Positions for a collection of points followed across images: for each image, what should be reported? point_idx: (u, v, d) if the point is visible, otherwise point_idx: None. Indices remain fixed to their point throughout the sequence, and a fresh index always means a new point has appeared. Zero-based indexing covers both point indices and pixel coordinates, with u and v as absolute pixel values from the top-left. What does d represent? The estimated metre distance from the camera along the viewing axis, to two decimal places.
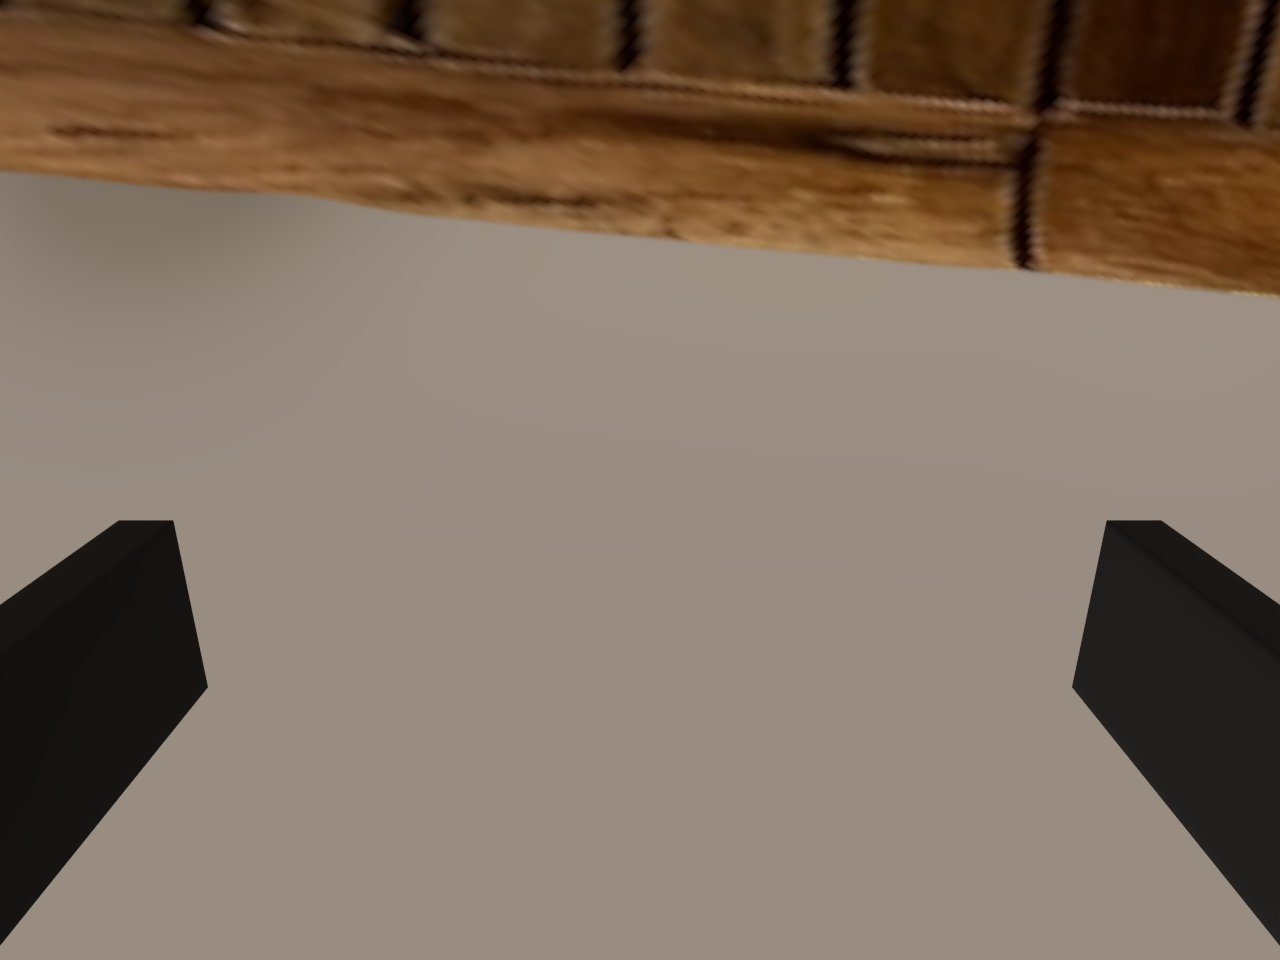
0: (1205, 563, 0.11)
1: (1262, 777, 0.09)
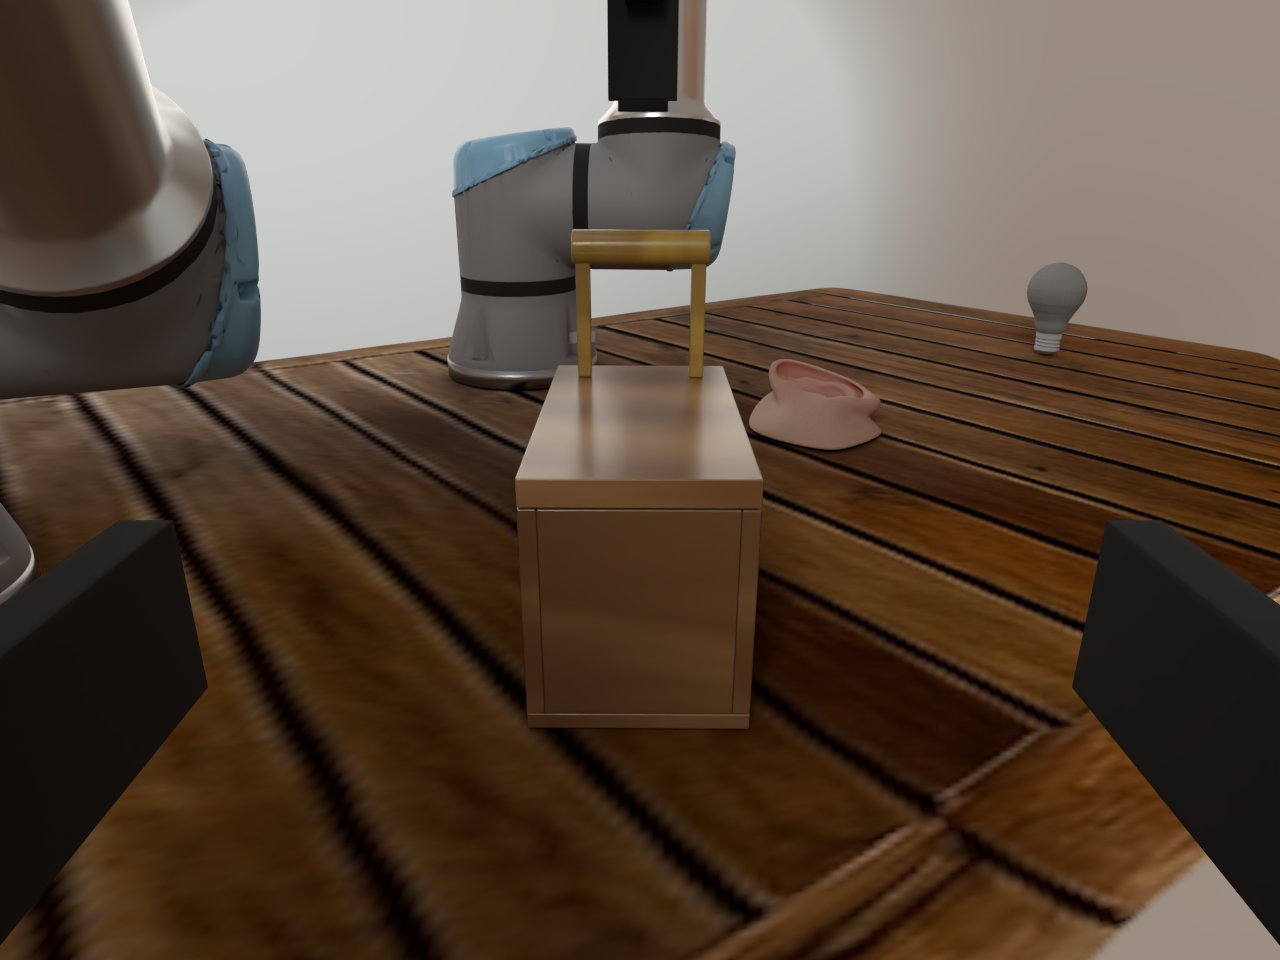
0: (1205, 563, 0.11)
1: (1262, 777, 0.09)
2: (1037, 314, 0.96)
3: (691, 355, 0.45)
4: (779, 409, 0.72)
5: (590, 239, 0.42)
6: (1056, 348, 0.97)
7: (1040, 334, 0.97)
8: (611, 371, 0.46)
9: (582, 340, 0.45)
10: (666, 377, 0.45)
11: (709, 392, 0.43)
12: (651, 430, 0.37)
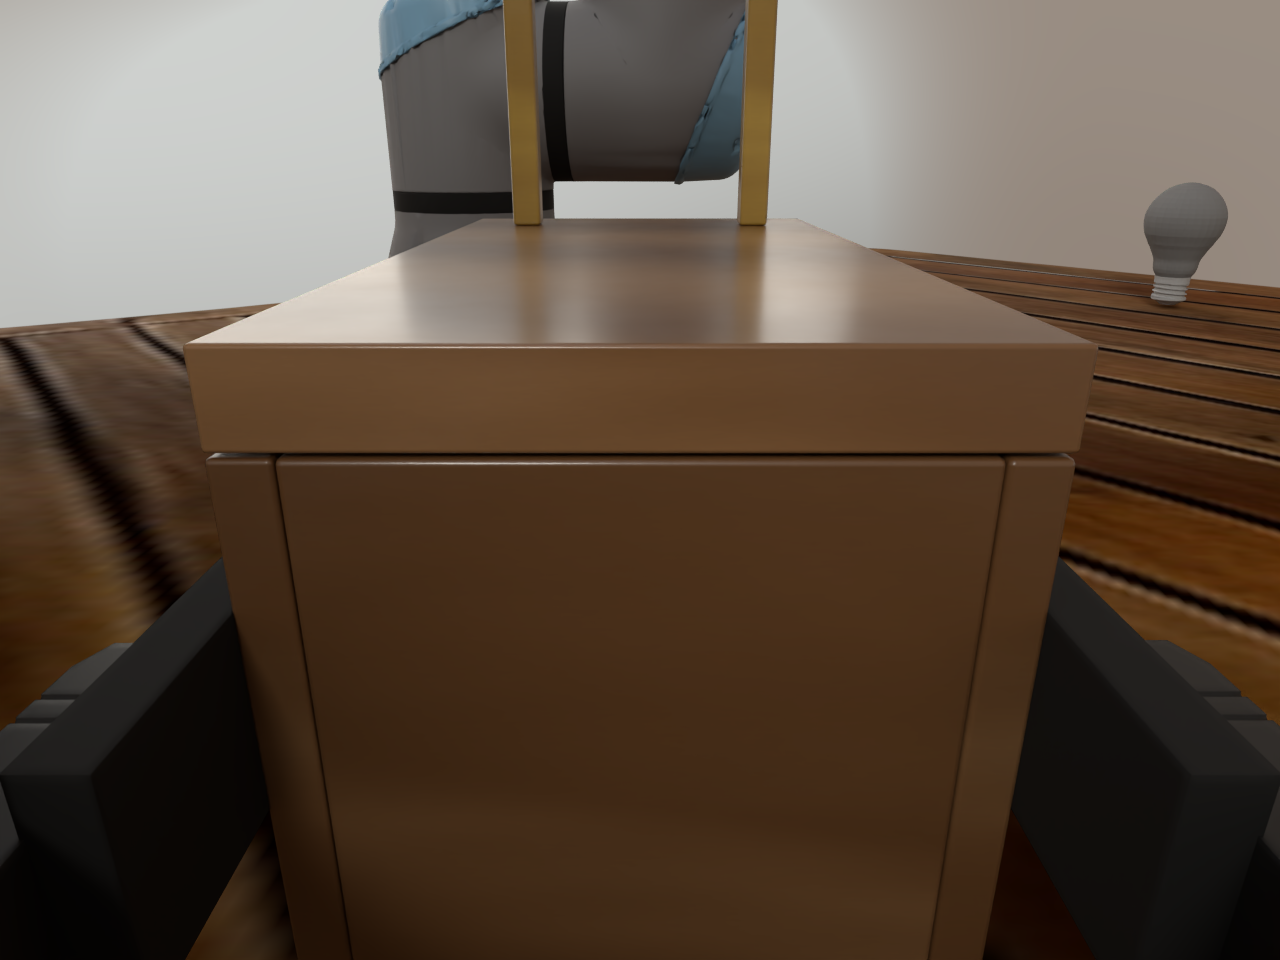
0: None
1: None
2: (1159, 252, 0.73)
3: (744, 177, 0.22)
4: None
5: None
6: (1182, 297, 0.74)
7: (1161, 278, 0.74)
8: (582, 222, 0.23)
9: (520, 144, 0.22)
10: (693, 225, 0.22)
11: (790, 235, 0.20)
12: (671, 269, 0.14)
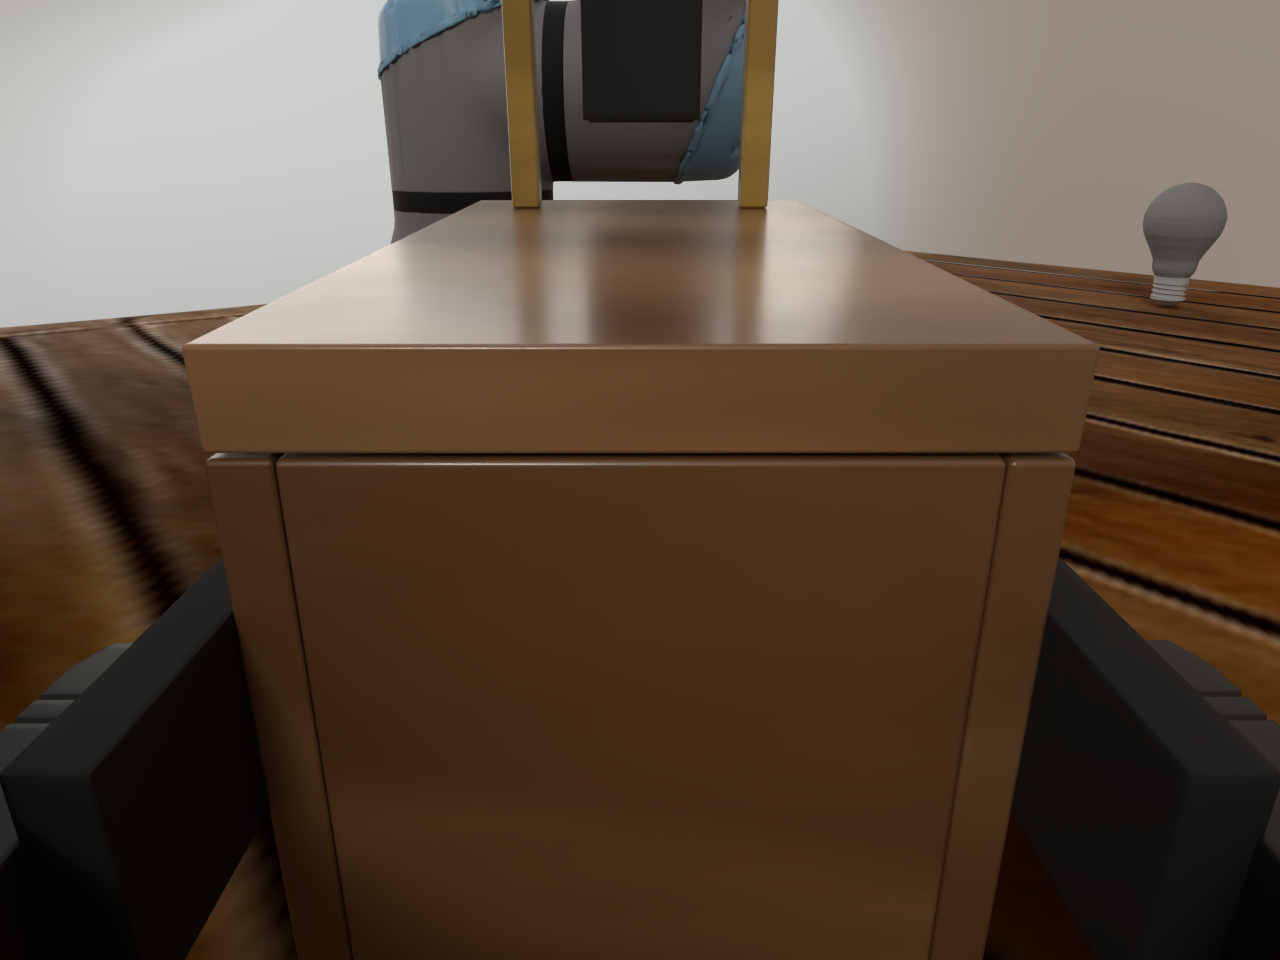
0: None
1: None
2: (1158, 252, 0.73)
3: (745, 159, 0.22)
4: None
5: None
6: (1181, 297, 0.74)
7: (1161, 278, 0.74)
8: (582, 204, 0.23)
9: (517, 125, 0.21)
10: (693, 208, 0.22)
11: (791, 219, 0.20)
12: (671, 259, 0.14)
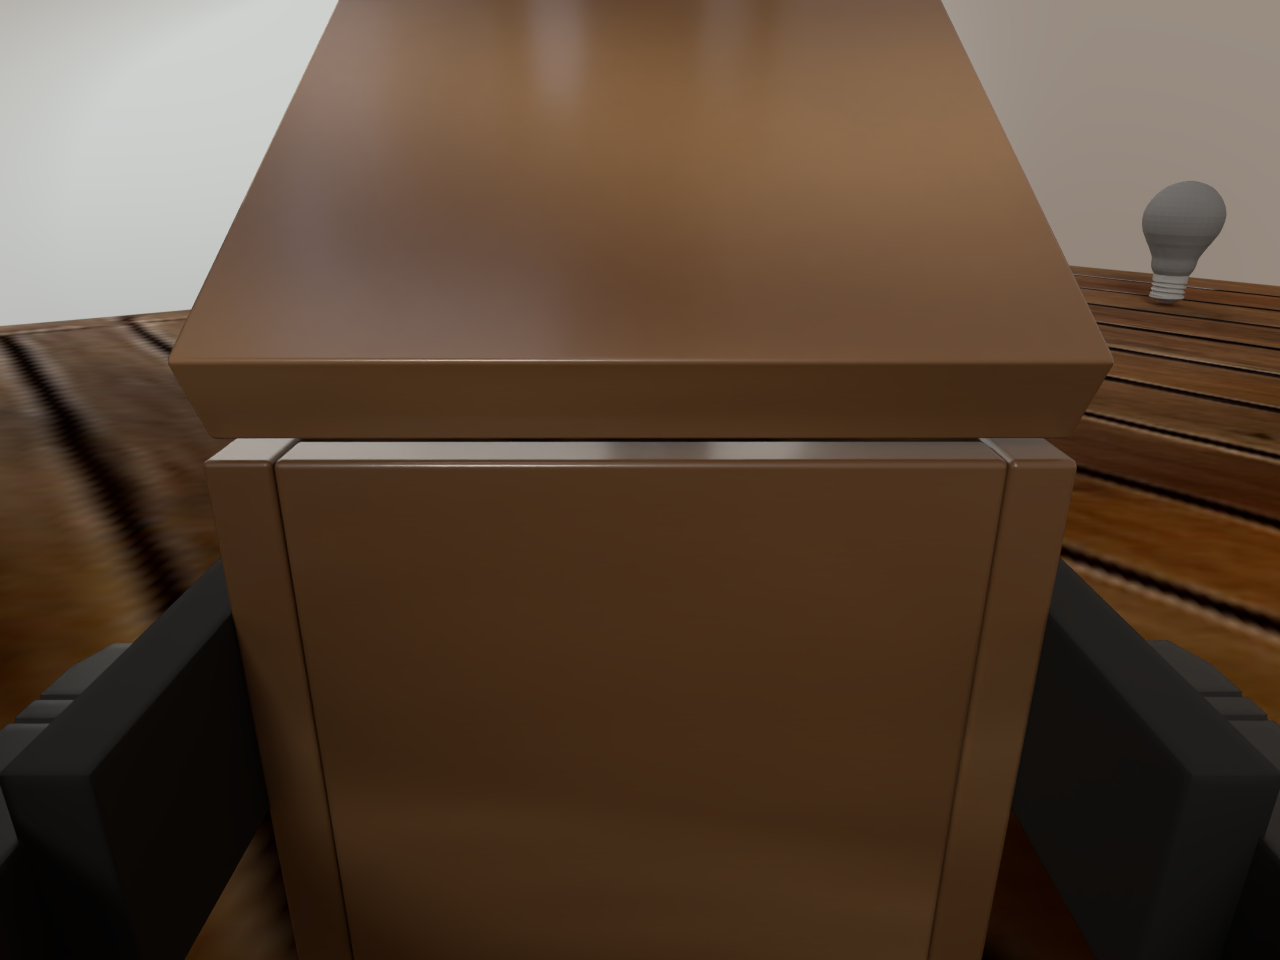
0: None
1: None
2: (1158, 250, 0.74)
3: None
4: None
5: None
6: (1181, 295, 0.75)
7: (1160, 277, 0.74)
8: None
9: None
10: None
11: None
12: (676, 60, 0.12)
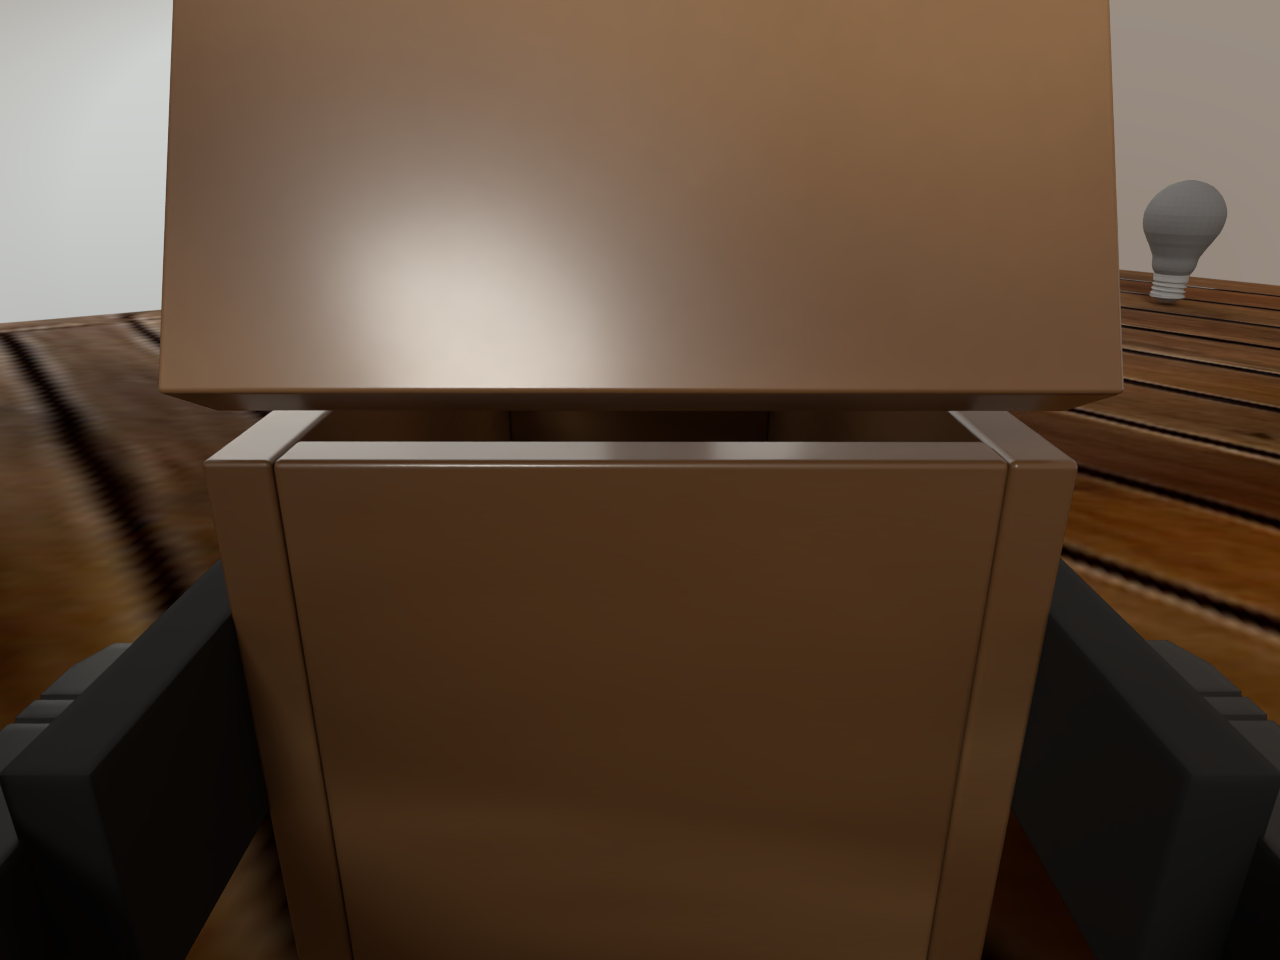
0: None
1: None
2: (1158, 250, 0.73)
3: None
4: None
5: None
6: (1181, 294, 0.75)
7: (1160, 276, 0.74)
8: None
9: None
10: None
11: None
12: None
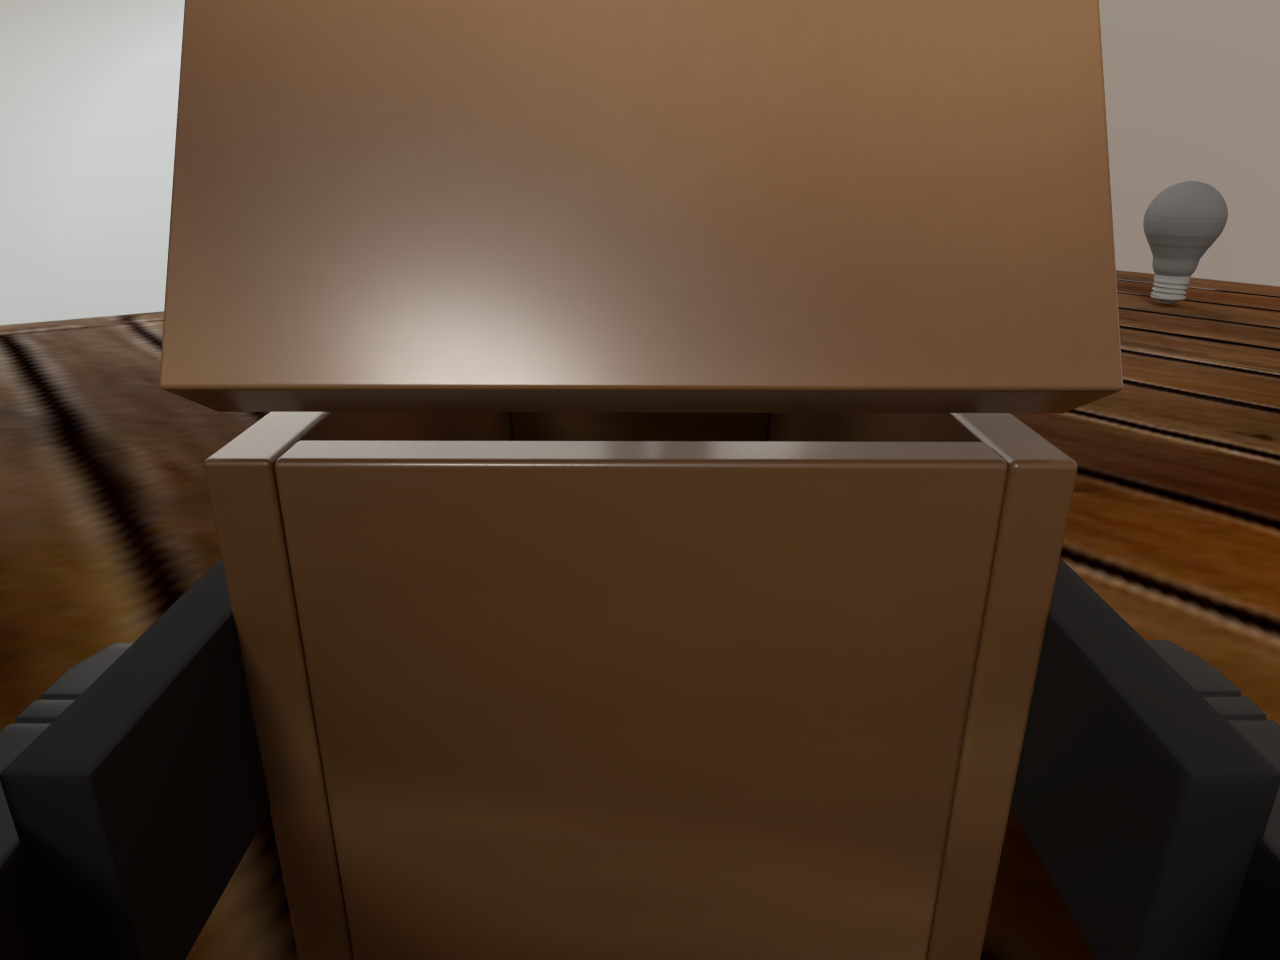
0: None
1: None
2: (1159, 251, 0.73)
3: None
4: None
5: None
6: (1182, 295, 0.74)
7: (1161, 277, 0.74)
8: None
9: None
10: None
11: None
12: None
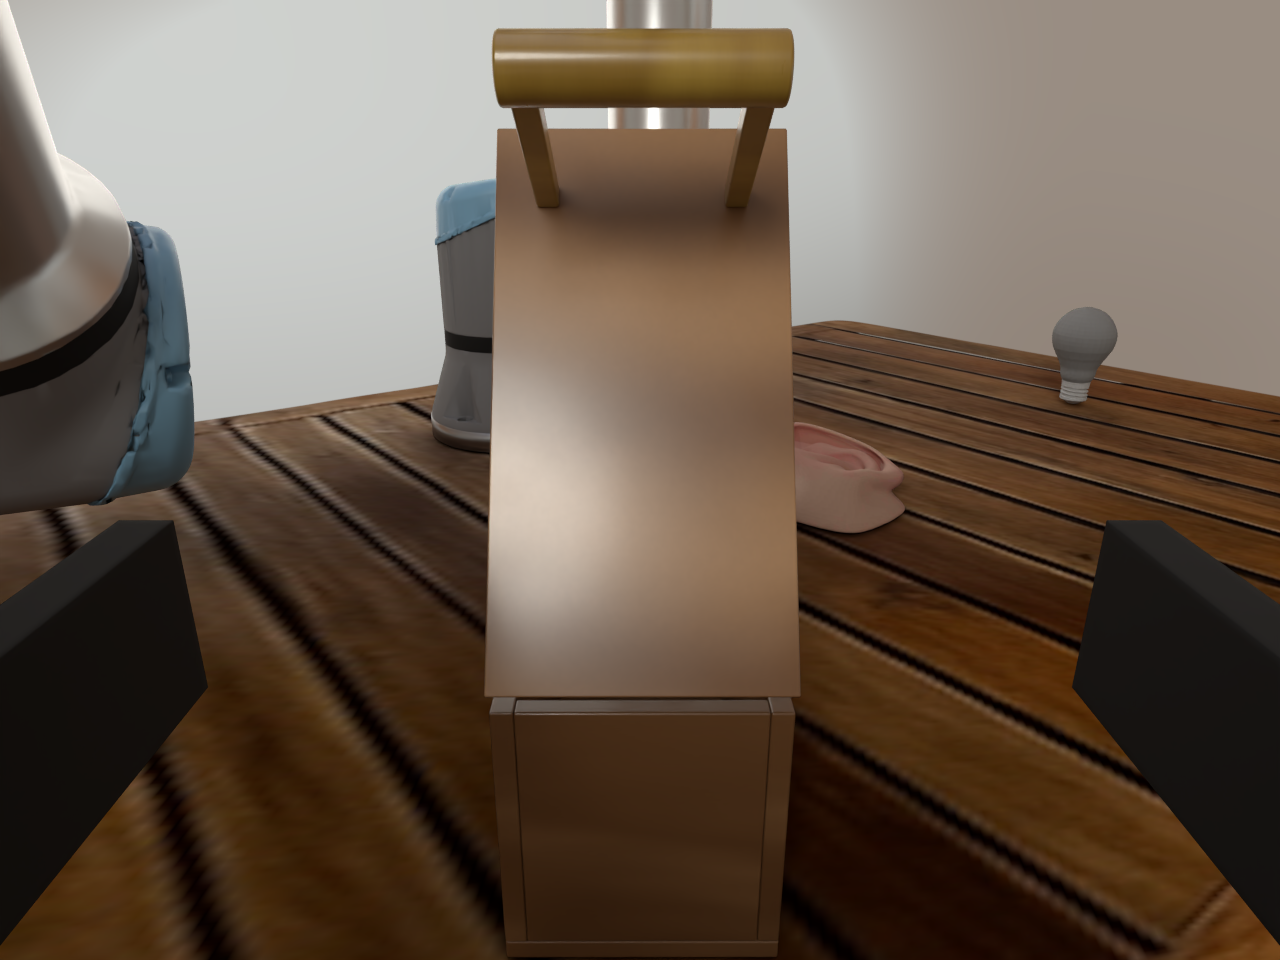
0: (1205, 563, 0.11)
1: (1262, 778, 0.09)
2: (1064, 362, 0.90)
3: (731, 189, 0.26)
4: None
5: (534, 86, 0.20)
6: (1083, 397, 0.91)
7: (1066, 383, 0.91)
8: (592, 169, 0.27)
9: (537, 177, 0.25)
10: (686, 207, 0.27)
11: (754, 295, 0.26)
12: (659, 494, 0.26)
